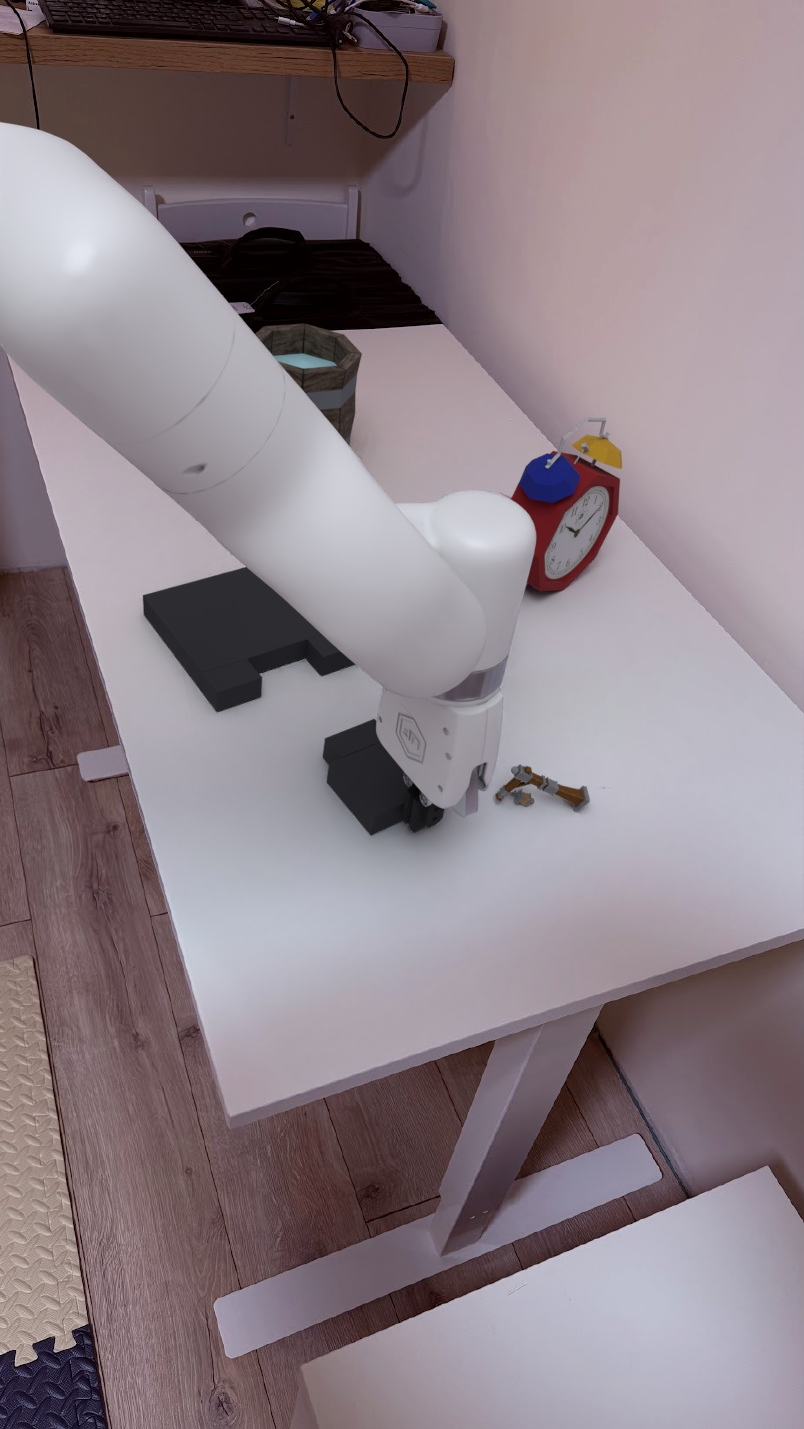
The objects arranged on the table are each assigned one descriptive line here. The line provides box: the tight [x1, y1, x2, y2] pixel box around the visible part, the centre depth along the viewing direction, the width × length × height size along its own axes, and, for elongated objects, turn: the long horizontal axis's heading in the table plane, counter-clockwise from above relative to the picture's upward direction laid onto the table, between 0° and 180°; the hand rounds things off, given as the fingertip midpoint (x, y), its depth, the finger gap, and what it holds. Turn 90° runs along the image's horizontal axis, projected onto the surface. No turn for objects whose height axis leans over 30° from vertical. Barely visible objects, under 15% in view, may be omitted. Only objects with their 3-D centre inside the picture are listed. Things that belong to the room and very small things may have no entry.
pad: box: [322, 718, 409, 836], centre depth 89 cm, size 8×10×2 cm
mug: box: [254, 323, 363, 448], centre depth 120 cm, size 20×14×15 cm
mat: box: [142, 566, 356, 713], centre depth 101 cm, size 16×16×2 cm
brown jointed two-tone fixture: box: [494, 763, 591, 813], centre depth 90 cm, size 2×8×4 cm, turn 94°
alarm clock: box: [500, 417, 623, 592], centre depth 110 cm, size 15×9×20 cm, turn 136°
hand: (421, 820), depth 86 cm, fingers closed
